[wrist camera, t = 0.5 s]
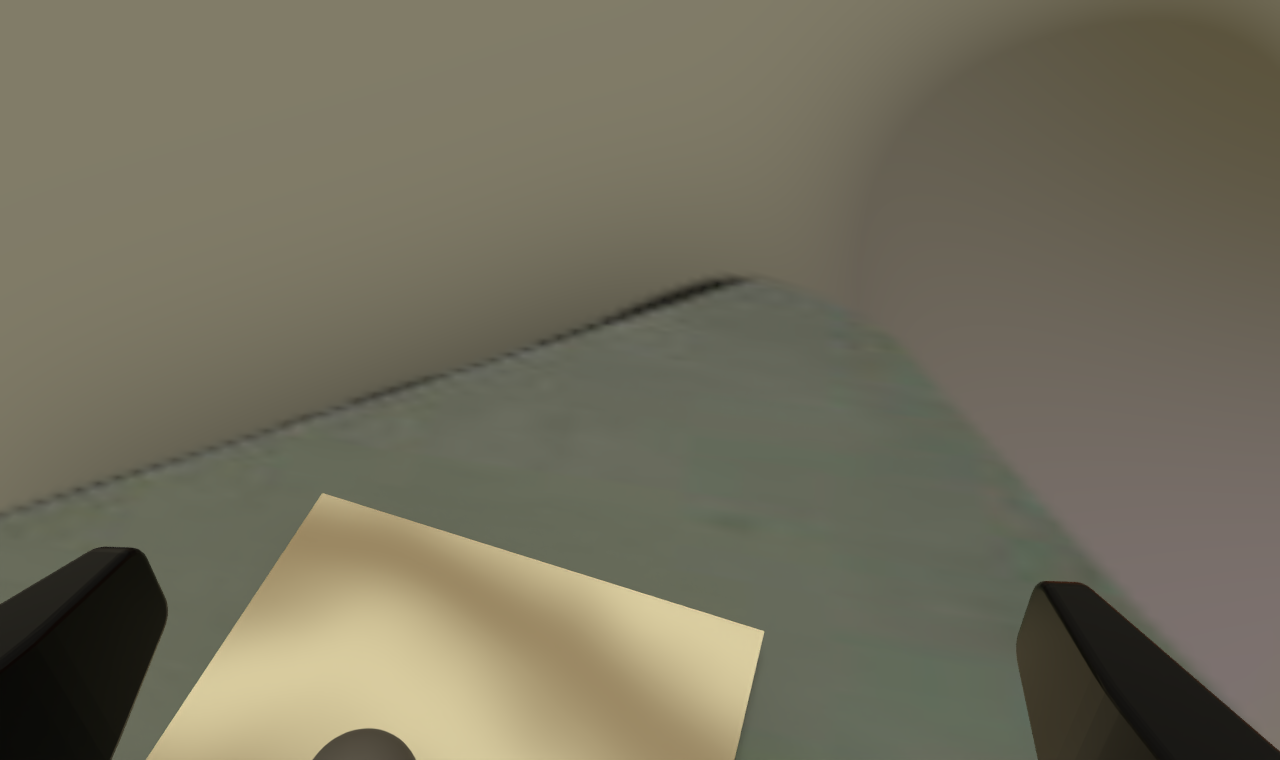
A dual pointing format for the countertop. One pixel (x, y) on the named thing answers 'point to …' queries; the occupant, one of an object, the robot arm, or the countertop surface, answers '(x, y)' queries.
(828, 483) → the countertop surface
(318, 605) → the keeper board
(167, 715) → the countertop surface
